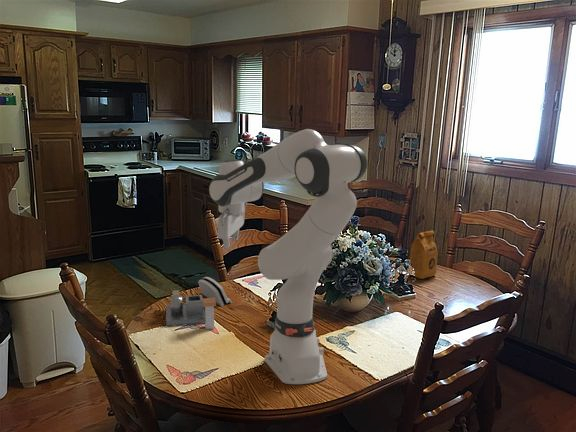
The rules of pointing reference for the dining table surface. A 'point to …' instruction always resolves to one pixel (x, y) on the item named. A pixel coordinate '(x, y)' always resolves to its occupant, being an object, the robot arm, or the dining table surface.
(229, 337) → the dining table surface
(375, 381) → the dining table surface
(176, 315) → the grey twin-post block
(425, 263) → the coffee package
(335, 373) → the dining table surface
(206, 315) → the tan capped white cylinder
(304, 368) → the robot arm
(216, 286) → the napkin holder
